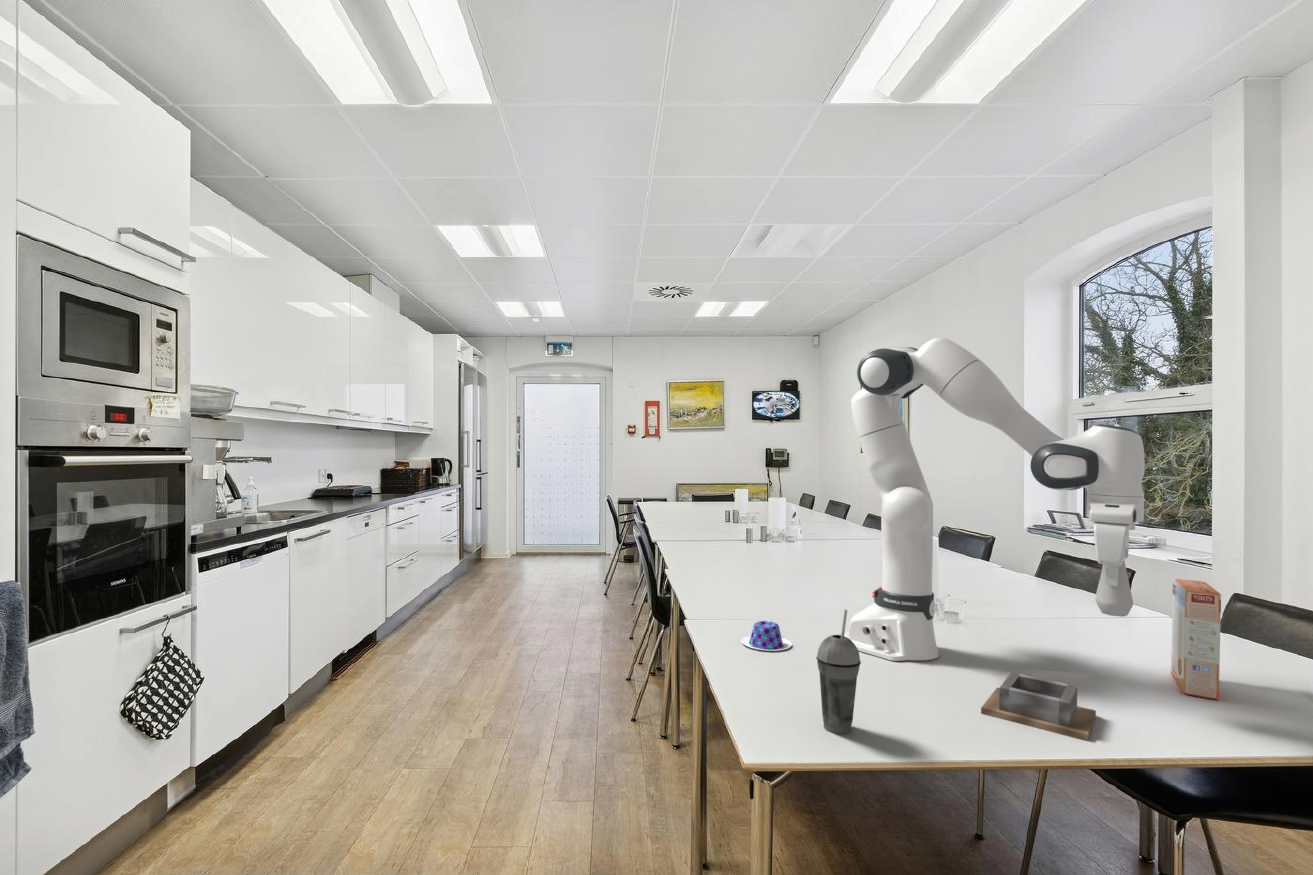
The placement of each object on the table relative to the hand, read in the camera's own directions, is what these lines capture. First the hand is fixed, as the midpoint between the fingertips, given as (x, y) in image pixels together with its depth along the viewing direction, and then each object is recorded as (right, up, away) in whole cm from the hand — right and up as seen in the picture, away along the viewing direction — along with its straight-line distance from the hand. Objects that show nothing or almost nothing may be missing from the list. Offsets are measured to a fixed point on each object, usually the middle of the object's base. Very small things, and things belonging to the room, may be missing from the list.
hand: (1113, 583), depth 120 cm
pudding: (-60, -23, +32) cm, 72 cm away
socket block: (-18, -22, -5) cm, 29 cm away
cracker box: (+24, -24, +10) cm, 35 cm away
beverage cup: (-56, -22, -13) cm, 61 cm away
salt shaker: (0, -6, 0) cm, 6 cm away
